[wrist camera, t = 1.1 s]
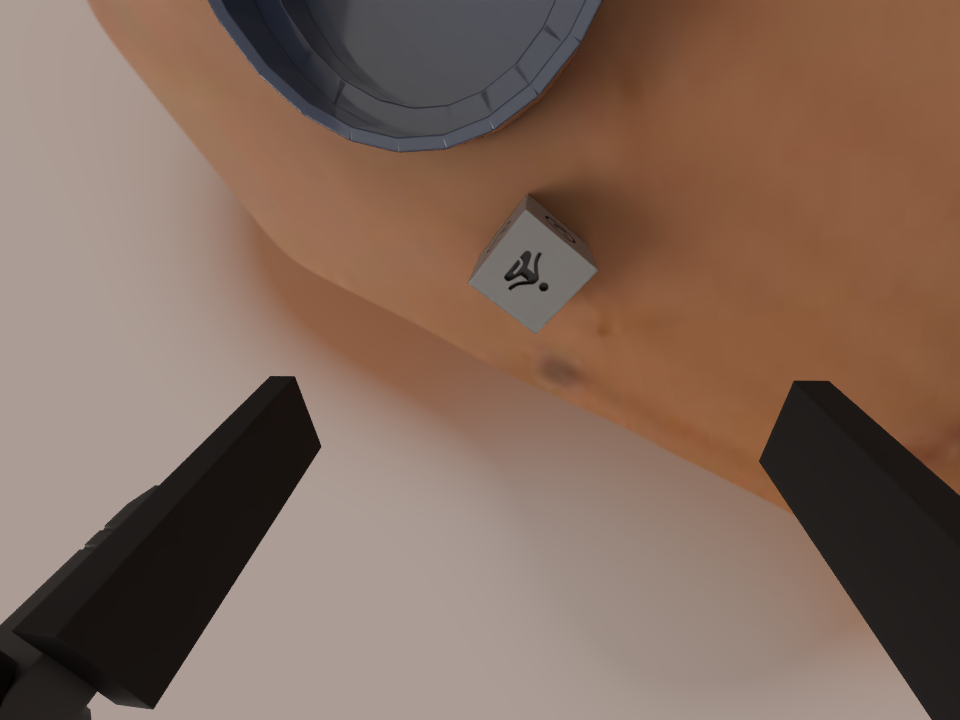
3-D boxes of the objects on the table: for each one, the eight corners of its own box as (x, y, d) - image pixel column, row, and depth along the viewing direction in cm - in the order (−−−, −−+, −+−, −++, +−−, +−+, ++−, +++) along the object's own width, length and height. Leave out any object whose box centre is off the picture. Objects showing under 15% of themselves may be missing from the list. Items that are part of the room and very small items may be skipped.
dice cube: (527, 193, 24) (525, 209, 19) (587, 244, 25) (598, 270, 20) (478, 257, 26) (467, 283, 22) (535, 301, 27) (536, 334, 23)
